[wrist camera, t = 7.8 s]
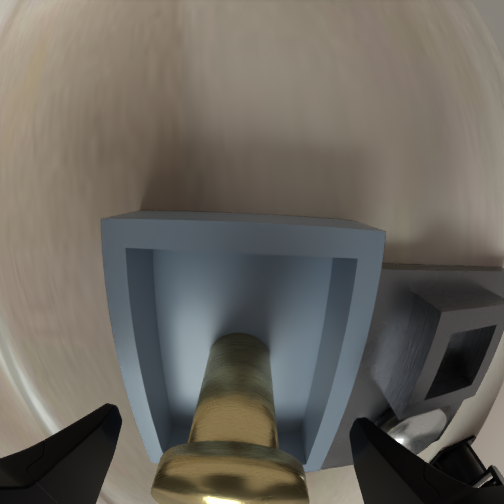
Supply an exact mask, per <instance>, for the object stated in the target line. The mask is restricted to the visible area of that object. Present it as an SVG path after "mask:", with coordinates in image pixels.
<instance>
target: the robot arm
mask: <svg viewBox="0 0 504 504" xmlns="http://www.w3.org/2000/svg"><path fill="white" fill-rule="evenodd" d="M121 425H122V418H121V415H120V413H119V410H118V407H117V406H116V405H113V404H109V403H107V404H105V405H103V406H101V407H100V408H98V409H96V410H95V411H93V412H92V413H90V414H88V415H87V416H85V417H83V418H82V419H80V420H78V421H76V422H75V423H73V424H71V425H70V426H68V427H66V428H64V429H63V430H61V431H59V432H57V433H56V434H54V435H52V436H50V437H48V438H47V439H45V440H43V441H41V442H39V443H37V444H35V445H33V446H31V447H29V448H27V449H25V450H22V451H20V452H17V453H14V454H12V455H9V456H6V457H3V458H0V504H96V502H97V499H98V496H99V493H100V490H101V487H102V485H103V482H104V479H105V477H106V474H107V471H108V469H109V466H110V463H111V461H112V458H113V455H114V452H115V449H116V445H117V441H118V437H119V433H120V429H121ZM349 438H350V444H351V451H352V457H353V463H354V468H355V472H356V476H357V479H358V483H359V486H360V490H361V493H362V497H363V501H364V504H504V478H503V476H502V475H501V473H500V472H499V470H498V469H497V468H496V467H495V466H493V465H491V466H490V467H488V469H487V470H486V468H485V467H484V465H483V464H482V462H481V461H480V459H479V458H478V456H477V455H476V453H475V452H474V450H473V449H472V448H471V446H470V445H471V444H472V443H473V442H474V440H475V439H476V437H475V435H474V436H472V437H470V438H468V439H466V440H464V441H462V442H460V443H458V444H456V445H454V446H452V447H449V448H447V449H445V450H443V451H441V452H440V453H439V454H438V455H437V456H436V457H435V459H434V460H433V461H432V462H431V464H428V463H427V462H425V461H424V460H422V459H421V458H420V457H418V456H417V455H415V454H414V453H413V452H411V451H410V450H409V449H407V448H406V447H404V446H403V445H402V444H400V443H399V442H398V441H396V440H395V439H394V438H392V437H391V436H390V435H388V434H387V433H386V432H384V431H383V430H382V429H381V428H379V427H378V426H377V425H375V424H374V423H373V422H372V421H370V420H369V419H368V418H366V417H361V418H356V419H355V420H354V422H353V424H352V427H351V429H350V432H349ZM491 476H493V478H492V479H491V480H489V481H487V482H485V481H486V480H487V479H488V478H489V477H491ZM484 482H485V483H484ZM482 483H484V484H483V485H482V486H481V487H479V486H480V485H481V484H482ZM478 487H479V488H478Z"/></svg>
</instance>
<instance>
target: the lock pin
mask: <svg viewBox="0 0 504 504" xmlns="http://www.w3.org/2000/svg"><path fill="white" fill-rule="evenodd" d="M151 495H152V497H153V498H154V499H155V501H156V502H158V503H159V504H309V495H308V489H307V483H306V477H305V471H304V467H303V465H302V464H301V462H300V461H299V460H298V459H296V458H295V457H294V456H292V455H290V454H288V453H286V452H284V451H281V450H279V447H278V436H277V425H276V415H275V404H274V394H273V384H272V374H271V364H270V355H269V351H268V348H267V346H266V345H265V344H264V343H263V342H262V341H261V340H260V339H259V338H257V337H255V336H253V335H250V334H247V333H230V334H227V335H224V336H222V337H220V338H219V339H217V340H216V341H215V342H214V344H213V345H212V347H211V349H210V353H209V357H208V361H207V365H206V369H205V373H204V377H203V381H202V385H201V389H200V394H199V398H198V402H197V406H196V410H195V414H194V419H193V423H192V427H191V432H190V436H189V440H188V443H185V444H181V445H178V446H175V447H172V448H170V449H169V450H167V451H166V452H165V453H163V455H162V456H161V458H160V461H159V464H158V468H157V471H156V474H155V478H154V481H153V484H152V488H151Z"/></svg>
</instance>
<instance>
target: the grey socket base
mask: <svg viewBox="0 0 504 504" xmlns="http://www.w3.org/2000/svg"><path fill="white" fill-rule="evenodd" d="M503 331H504V268H502V267H481V266H449V265H420V264H393V263H382V267H381V273H380V279H379V285H378V290H377V295H376V300H375V305H374V310H373V315H372V319H371V323H370V328H369V332H368V336H367V340H366V344H365V347H364V351H363V355H362V358H361V362H360V365H359V369H358V372H357V375H356V379H355V382H354V385H353V388H352V391H351V394H350V397H349V400H348V403H347V405H346V408H345V411H344V414H343V416H342V419H341V422H340V424H339V427H338V429H337V432H336V434H335V437H334V439H333V442H332V444H331V446H330V449H329V451H328V453H327V455H326V458H325V460H324V462H323V464H322V466H321V468H320V469H328V468H335V467H342V466H348V465H353V464H354V463H353V457H352V451H351V444H350V438H349V432H350V429H351V427H352V424H353V422H354V420H355V419H356V418H361V417H366V418H368V419H369V420H370V421H372V422H373V423H374V424H375V425H377V426H378V427H379V428H381V429H382V430H383V431H384V432H386V433H387V434H388V435H390V436H391V437H392V438H394V439H395V440H396V441H398V442H399V443H400V444H402V445H403V446H404V447H406V448H407V449H409V450H410V451H411V452H413V453H414V454H415V455H417V454H419V453H420V452H421V451H423V450H424V449H425V448H427V447H428V446H429V445H430V444H431V443H432V442H435V441H438V440H439V439H440V437H441V436H442V434H443V433H444V431H445V430H446V428H447V427H448V425H449V424H450V422H451V421H452V419H453V417H454V416H455V414H456V412H457V411H458V409H459V407H460V406H461V404H462V402H463V400H464V399H467V398H469V397H472V396H474V395H475V394H476V392H477V390H478V388H479V386H480V384H481V382H482V380H483V378H484V376H485V374H486V372H487V370H488V368H489V366H490V363H491V361H492V359H493V357H494V354H495V352H496V349H497V347H498V345H499V342H500V339H501V337H502V334H503Z"/></svg>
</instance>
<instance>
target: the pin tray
mask: <svg viewBox="0 0 504 504" xmlns="http://www.w3.org/2000/svg"><path fill="white" fill-rule="evenodd" d="M101 237H102V254H103V266H104V276H105V285H106V294H107V301H108V308H109V314H110V320H111V326H112V332H113V337H114V342H115V347H116V352H117V356H118V361H119V365H120V369H121V373H122V377H123V381H124V384H125V388H126V392H127V395H128V399H129V402H130V405H131V408H132V412H133V415H134V418H135V421H136V424H137V427H138V430H139V432H140V435H141V438H142V440H143V443H144V446H145V448H146V451H147V453H148V456H149V458H150V461H151V462H153V463H158V464H159V461H160V458H161V456H162V455H163V453H165V452H166V451H167V450H169V449H170V448H172V447H175V446H178V445H181V444H185V443H188V440H189V436H190V432H191V427H192V423H193V419H194V414H195V410H196V406H197V402H198V398H199V394H200V389H201V385H202V381H203V377H204V373H205V369H206V365H207V361H208V357H209V353H210V349H211V347H212V345H213V344H214V342H215V341H216V340H217V339H219V338H220V337H222V336H224V335H227V334H230V333H247V334H250V335H253V336H255V337H257V338H259V339H260V340H261V341H262V342H263V343H264V344H265V345H266V346H267V348H268V351H269V355H270V364H271V374H272V384H273V394H274V404H275V415H276V425H277V436H278V447H279V450H281V451H284V452H286V453H288V454H290V455H292V456H294V457H295V458H296V459H298V460H299V461H300V462H301V464H302V465H303V467H304V471H305V472H312V471H319V470H320V468H321V466H322V464H323V462H324V460H325V458H326V455H327V453H328V451H329V449H330V446H331V444H332V442H333V439H334V437H335V434H336V432H337V429H338V427H339V424H340V422H341V419H342V416H343V414H344V411H345V408H346V405H347V403H348V400H349V397H350V394H351V391H352V388H353V385H354V382H355V379H356V375H357V372H358V369H359V365H360V362H361V358H362V355H363V351H364V347H365V344H366V340H367V336H368V332H369V328H370V323H371V319H372V315H373V310H374V305H375V300H376V295H377V290H378V285H379V279H380V273H381V267H382V260H383V254H384V246H385V238H386V231H383V230H380V229H377V228H374V227H371V226H368V225H364V224H361V223H358V222H355V221H352V220H342V219H329V218H316V217H302V216H286V215H268V214H248V213H224V212H190V211H136V212H131V213H126V214H121V215H117V216H112V217H108V218H103V219H101Z"/></svg>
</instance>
